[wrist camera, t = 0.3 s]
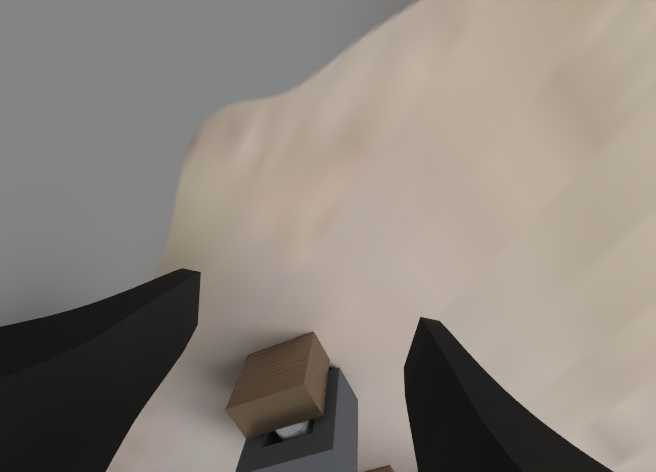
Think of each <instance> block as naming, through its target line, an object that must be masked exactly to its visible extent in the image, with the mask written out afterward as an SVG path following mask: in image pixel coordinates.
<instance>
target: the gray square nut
mask: <svg viewBox="0 0 656 472" xmlns="http://www.w3.org/2000/svg"><path fill="white" fill-rule="evenodd" d="M357 448H358V399H357V398H356V396H355V394H354V392H353V391H352V389H351V387H350V385H349V384H348V382H347V380H346V378H345V376H344V375H343V373H342V371H341V369H340V368H336V369H333V370H330V371H328V379H327V388H326V396H325V405H324V414H323V416H321V417H318V418H315V420H314V427H313V433H311V434H308V435H304V436H301V437H298V438H294V439H291V440H287V441H284V442H282V440H281V439H280V437H279V436H278V434H277V433H276V431H275V430H274V431H271V432H268V433H264V434H261V435H258V436H254V437H251V438H248V439H246V441H245V444H244V447H243V450H242V453H241V456H240V459H239V462H238V465H237V468H236V472H357Z"/></svg>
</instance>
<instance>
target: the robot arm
mask: <svg viewBox="0 0 656 472" xmlns="http://www.w3.org/2000/svg"><path fill="white" fill-rule="evenodd" d="M200 275H201V272H197V271H192V270H188V269H183V268H182V269H179V270H176V271H173V272H171V273H168V274H166V275H164V276H161V277H159V278H156V279H154V280H152V281H149V282H147V283H144V284H142V285H140V286H137V287H135V288H133V289H130V290H127V291H125V292H122V293H119V294H117V295H114V296H111V297H109V298H106V299H103V300H101V301H98V302H95V303H92V304H89V305H86V306H83V307H80V308H77V309H73V310H69V311H66V312H62V313H59V314H55V315H51V316H47V317H43V318H38V319H34V320H29V321H25V322H21V323H16V324H11V325H7V326H2V327H0V472H106V470H107V468H108V466H109V464H110V463H111V461H112V459H113V457H114V455H115V454H116V452H117V450H118V448H119V447H120V445H121V443H122V441H123V440H124V438H125V436H126V435H127V433H128V431H129V429H130V428H131V426H132V424H133V423H134V421H135V419H136V418H137V416H138V415H139V413H140V412H141V410H142V409H143V407H144V406H145V405H146V403H147V402H148V400H149V399H150V398H151V396H152V395H153V393H154V392H155V391H156V389H157V388H158V387H159V385H160V384H161V382H162V381H163V380H164V378H165V377H166V375H167V374H168V373H169V371H170V370H171V368H172V367H173V366H174V364H175V363H176V361H177V360H178V358H179V357H180V356H181V354H182V353H183V351H184V350H185V348H186V346H187V344H188V342H189V340H190V339H191V337H192V335H193V333H194V331H195V329H196V327H197V325H198V309H199V292H200ZM404 384H405V398H406V405H407V411H408V416H409V422H410V428H411V433H412V439H413V444H414V450H415V456H416V461H417V467H418V472H613V471H612V470H610V469H608V468H607V467H605V466H604V465H602V464H601V463H599V462H598V461H596V460H594V459H593V458H591V457H590V456H588V455H587V454H585V453H584V452H583V451H581V450H580V449H578V448H577V447H575V446H574V445H572V444H571V443H570V442H568V441H567V440H566V439H564V438H563V437H561V436H560V435H559V434H557V433H556V432H555V431H553V430H552V429H551V428H549V427H548V426H547V425H545V424H544V423H543V422H542V421H540V420H539V419H538V418H537V417H535V416H534V415H533V414H532V413H531V412H529V411H528V410H527V409H526V408H525V407H523V406H522V405H521V404H520V403H519V402H518V401H516V400H515V399H514V398H513V397H512V396H511V395H510V394H509V393H507V392H506V391H505V390H504V389H503V388H502V387H501V386H500V385H499V384H498V383H497V382H496V381H495V380H494V379H493V378H492V377H491V376H490V375H489V374H488V373H487V372H486V371H485V370H484V369H483V368H482V367H481V366H480V365H479V364H478V363H477V362H476V361H475V359H474V358H473V357H472V356H471V355H470V354H469V353H468V352H467V351H466V350H465V348H464V347H463V346H462V345H461V344H460V343H459V342H458V341H457V339H456V338H455V337H454V336H453V335H452V334H451V333H450V332H449V330H448V329H447V328H446V327H445V326H444V325H443V324H442V323H441V322H440V321H437V320H432V319H428V318H423V317H420V320H419V323H418V326H417V329H416V332H415V335H414V338H413V341H412V344H411V347H410V350H409V353H408V356H407V359H406V362H405V366H404Z"/></svg>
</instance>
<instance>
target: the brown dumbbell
mask: <svg viewBox="0 0 656 472" xmlns="http://www.w3.org/2000/svg"><path fill="white" fill-rule="evenodd" d="M329 362H330V359H329V358H328V356H327V354H326V353H325V351H324V349H323V347H322V346H321V344H320V342H319V340H318V339H317V337H316V335H315V333H314V332H312V333H310V334H307V335H304V336H301V337H298V338H296V339H293V340H290V341H287V342H284V343H282V344H279V345H276V346H273V347H270V348H268V349H265V350H262V351H259V352H256V353H254V354H251V355H248V357H247V360H246V362H245V364H244V367H243V369H242V372H241V374H240V376H239V379H238V381H237V383H236V386H235V388H234V390H233V393H232V395H231V398H230V400H229V402H228V405H227V407H226V409H225V410H226V411H227V412H228V414H229V415H230V417H231V418H232V419H233V421H234V422H235V423H236V425H237V426H238V428H239V429H240V430H241V432H242V433H243V435H244V436H245V437H246V439H248V438H251V437H254V436H258V435H261V434H264V433H268V432H271V431H274V430H275V431H276V433H277V434H278V436H279V437H280V439H281V440H282V442H284V441H287V440H291V439H294V438H298V437H301V436H304V435H308V434H311V433H313V427H314V420H315V418H318V417H321V416H323V414H324V405H325V396H326V388H327V379H328V370H329ZM367 472H394V471H393V469H392V468H391V466H387V467H383V468H379V469H375V470H371V471H367Z"/></svg>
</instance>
